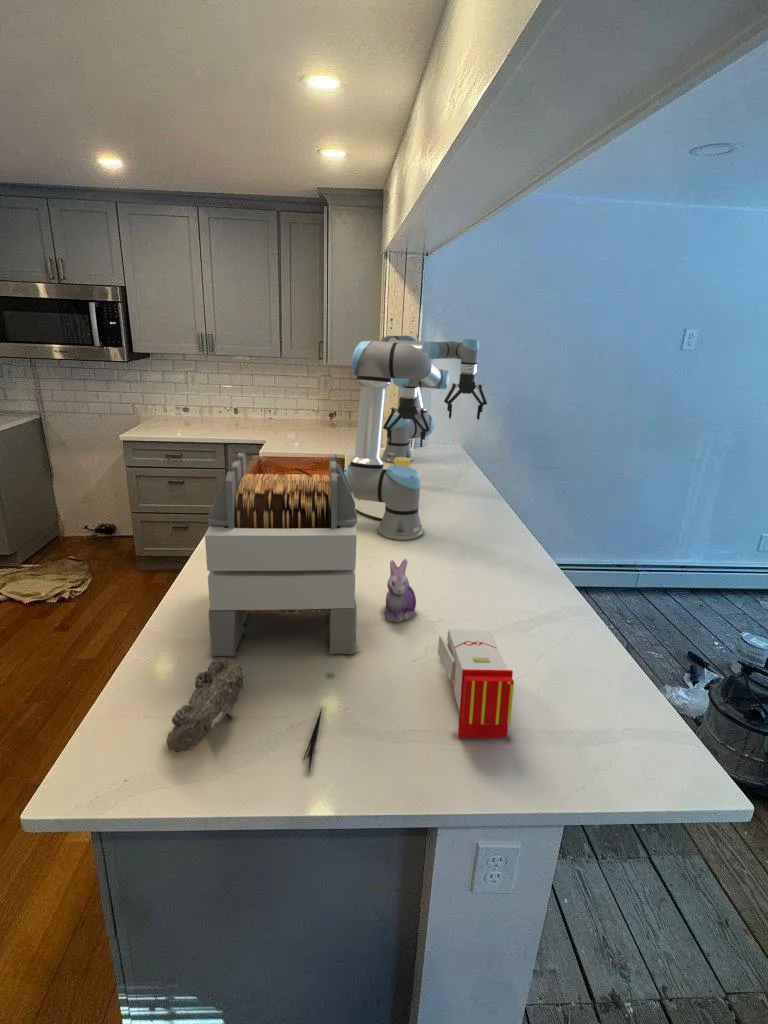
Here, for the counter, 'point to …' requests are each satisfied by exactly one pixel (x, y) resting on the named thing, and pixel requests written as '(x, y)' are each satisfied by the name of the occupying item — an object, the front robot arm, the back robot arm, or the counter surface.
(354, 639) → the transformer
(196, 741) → the fossil
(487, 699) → the toy
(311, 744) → the feather
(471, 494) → the counter surface
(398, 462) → the cylinder
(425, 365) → the front robot arm
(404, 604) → the figurine
